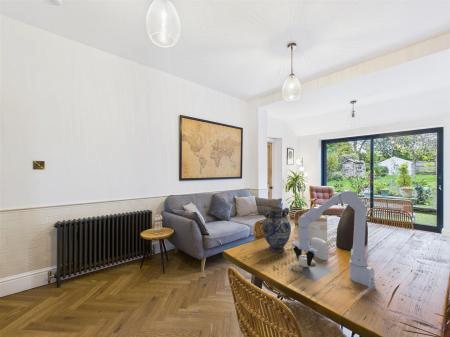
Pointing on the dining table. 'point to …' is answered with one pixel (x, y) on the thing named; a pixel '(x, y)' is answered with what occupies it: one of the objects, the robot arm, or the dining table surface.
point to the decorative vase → (276, 228)
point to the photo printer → (320, 248)
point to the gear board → (311, 270)
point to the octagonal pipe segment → (302, 260)
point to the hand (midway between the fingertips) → (304, 263)
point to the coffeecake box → (319, 229)
